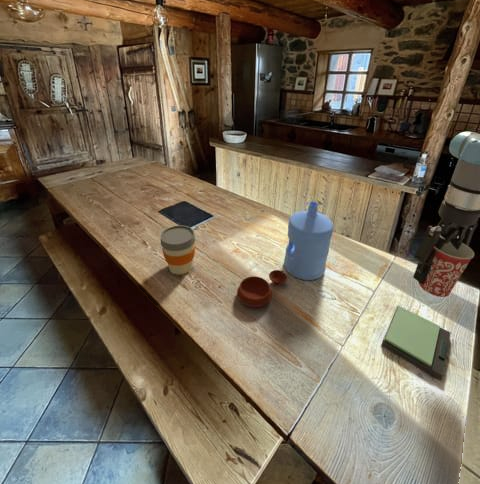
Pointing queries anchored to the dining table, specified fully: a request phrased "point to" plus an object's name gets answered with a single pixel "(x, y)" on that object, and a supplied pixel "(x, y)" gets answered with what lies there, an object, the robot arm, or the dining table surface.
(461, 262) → the mug
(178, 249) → the reusable coffee cup
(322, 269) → the water jug
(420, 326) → the scale
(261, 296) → the pottery
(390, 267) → the dining table surface
